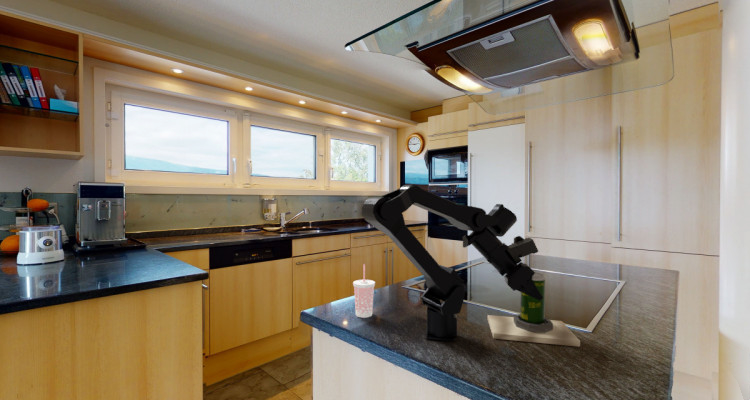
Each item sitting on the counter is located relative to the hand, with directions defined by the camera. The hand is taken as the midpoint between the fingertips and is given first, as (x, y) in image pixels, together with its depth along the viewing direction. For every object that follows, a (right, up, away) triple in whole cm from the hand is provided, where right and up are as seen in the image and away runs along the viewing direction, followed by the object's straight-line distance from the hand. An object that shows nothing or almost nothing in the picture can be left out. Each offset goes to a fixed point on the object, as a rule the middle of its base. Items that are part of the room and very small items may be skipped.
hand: (538, 295), depth 80 cm
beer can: (-1, -7, 0) cm, 7 cm away
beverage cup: (-43, -9, +11) cm, 45 cm away
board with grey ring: (-2, -9, 0) cm, 9 cm away
